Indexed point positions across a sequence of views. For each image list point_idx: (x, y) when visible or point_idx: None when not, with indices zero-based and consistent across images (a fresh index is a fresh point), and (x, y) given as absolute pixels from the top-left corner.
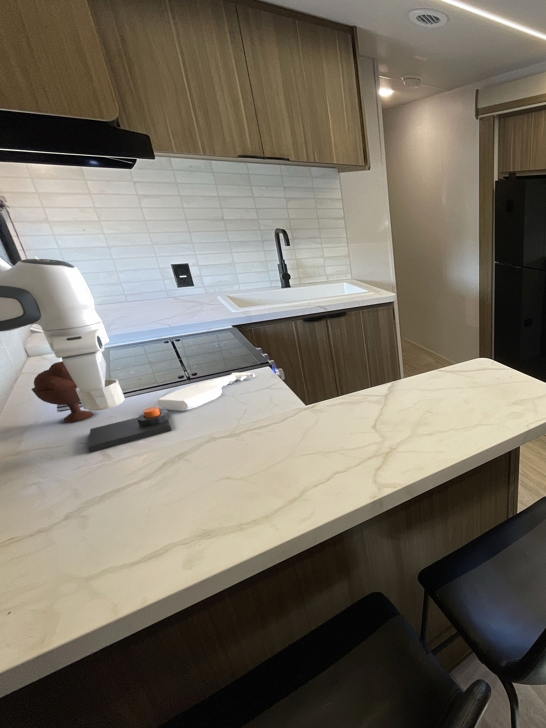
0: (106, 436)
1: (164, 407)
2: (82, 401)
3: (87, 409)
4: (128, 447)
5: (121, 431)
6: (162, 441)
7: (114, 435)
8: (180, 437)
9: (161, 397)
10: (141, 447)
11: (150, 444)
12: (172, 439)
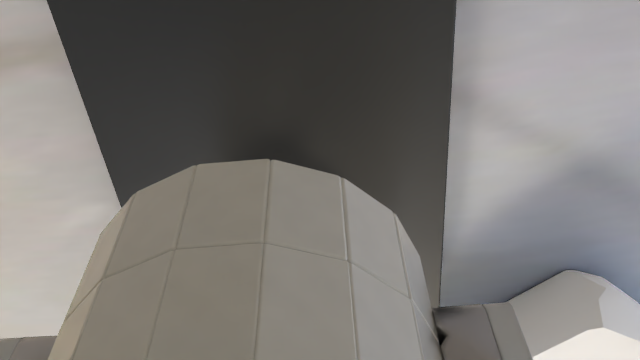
0: (187, 82)
1: (536, 296)
2: (127, 254)
3: (130, 199)
4: (36, 162)
5: (227, 152)
6: (39, 283)
7: (176, 123)
8: (52, 335)
9: (619, 334)
10: (3, 214)
11: (25, 244)
12: (44, 313)
